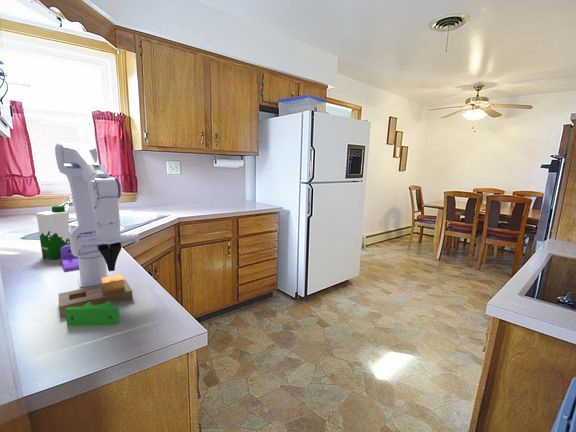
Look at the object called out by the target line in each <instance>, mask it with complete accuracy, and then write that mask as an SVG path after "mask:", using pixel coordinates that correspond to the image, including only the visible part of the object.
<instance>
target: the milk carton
mask: <svg viewBox="0 0 576 432" xmlns="http://www.w3.org/2000/svg"><path fill="white" fill-rule="evenodd" d="M35 215H36V221H37V226H38V233H39V242H40V247H41V248H40V249H41V255H42V258H44V259H50V260H57V259H61V247H63V246H65V245H70V237H69V235H70V233H71V231H70V225H69V217H70V212H69V211H66V209H65V205H55V206H54V205H53V206H51V210H48V211H47V210H46V211H41V212H36V213H35ZM67 252H68V253H72V252H71V250H68V251H67Z"/></svg>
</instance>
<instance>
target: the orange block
mask: <svg viewBox="0 0 576 432" xmlns="http://www.w3.org/2000/svg"><path fill="white" fill-rule="evenodd" d="M124 280H125V279H124V277H123V275H122V274H121V273H119V274H113V275H108V276H106V277H101V284H100V285H101V287H102V290H103V293H104V294H106V293H110V292H115V291H120V290H124V289H125V286H124Z"/></svg>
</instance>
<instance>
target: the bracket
mask: <svg viewBox="0 0 576 432" xmlns="http://www.w3.org/2000/svg"><path fill="white" fill-rule="evenodd" d="M68 250H71V248H70V245H65V246H63V247H61V258H60V259H61V263H62V268H63V272H65V273H66V272H69V271H76V270H79V262H78V257H75V256H74V255H73V254H72V253H68V252H67V251H68Z"/></svg>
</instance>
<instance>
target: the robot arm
mask: <svg viewBox="0 0 576 432" xmlns="http://www.w3.org/2000/svg"><path fill="white" fill-rule="evenodd" d="M54 147H55V148H54V152H55V161H56V164H57V169H58V170H59V173H61V174H63V175H65V176H66V178H67V180H68V182H69V186H70V187H69V188H70V191H71V197H72V202H73V207H74V211H75V215H76V221H77V226H76V227H75V228H73V230H70V235H69V237H70V248H71V252H72V254H73V255H74V256H75V257H78V262H79V269H78V270H79V276H78V277H77V281H78V285H79V288H80V289H83V288H88V287H93V286H98V285H101V277H106V276H109V275H108V272H114V271H116V270H115V269H116V264H117V260H118V257H119V255H120V253H121V250H122V244H127V243H128V244H129V243H140V236H139V234H137V233H135V234H121V222H120V220H121V219H120V210H119V209H120V208H119V200H120V199H121V197H122V185H121V182H120V180H119V178H118V177H116V176H115V177H114V176H111V175H110V174H109V173H108V171H107V170H106V169H105V168H104V166H103V165H102V164H100V163H98V151H97V148H96V147H95V145H93V144H80V143H79V144H77V143H76V144H75V143H62V142H57V143H56V144H55V146H54Z"/></svg>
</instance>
